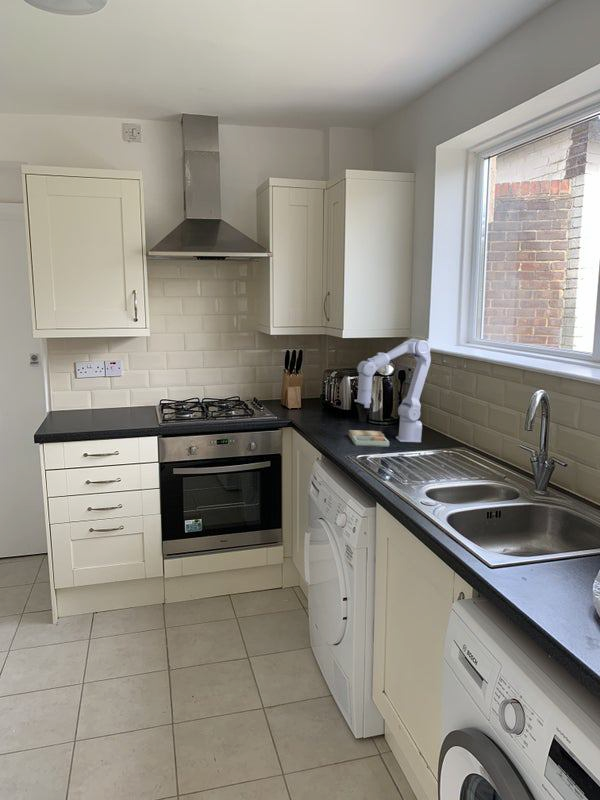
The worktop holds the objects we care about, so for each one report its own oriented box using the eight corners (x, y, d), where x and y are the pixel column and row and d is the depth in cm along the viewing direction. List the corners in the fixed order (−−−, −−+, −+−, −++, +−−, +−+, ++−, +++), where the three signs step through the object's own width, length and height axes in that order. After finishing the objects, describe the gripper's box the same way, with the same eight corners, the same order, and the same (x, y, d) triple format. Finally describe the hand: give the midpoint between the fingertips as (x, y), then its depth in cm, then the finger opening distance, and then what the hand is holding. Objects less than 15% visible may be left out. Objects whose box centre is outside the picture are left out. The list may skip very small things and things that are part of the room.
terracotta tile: (381, 440, 259) (381, 436, 258) (383, 443, 255) (383, 438, 254) (372, 440, 258) (372, 436, 258) (374, 442, 254) (374, 438, 254)
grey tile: (368, 439, 251) (368, 444, 251) (366, 437, 255) (366, 441, 255) (359, 439, 251) (358, 443, 251) (357, 436, 255) (357, 441, 255)
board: (379, 436, 269) (380, 431, 268) (383, 441, 261) (384, 435, 260) (348, 435, 267) (349, 430, 267) (351, 439, 260) (352, 434, 259)
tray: (384, 441, 260) (384, 436, 260) (389, 446, 252) (389, 441, 251) (351, 440, 259) (352, 435, 259) (355, 445, 250) (356, 440, 250)
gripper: (352, 386, 262) (350, 417, 264) (358, 392, 247) (356, 424, 250) (368, 387, 262) (366, 418, 265) (375, 393, 248) (373, 425, 250)
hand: (362, 421), depth 257 cm, fingers closed
